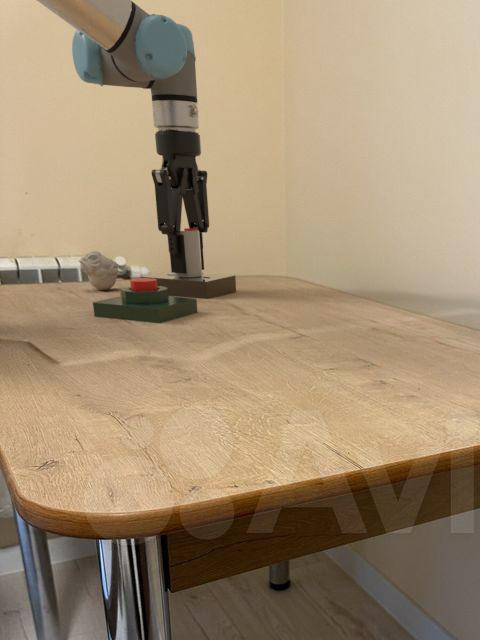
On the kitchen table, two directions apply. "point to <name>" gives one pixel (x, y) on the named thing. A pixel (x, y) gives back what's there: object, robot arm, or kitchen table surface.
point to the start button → (144, 284)
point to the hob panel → (196, 284)
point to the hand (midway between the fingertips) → (188, 270)
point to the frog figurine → (99, 270)
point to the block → (145, 306)
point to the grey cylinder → (191, 253)
